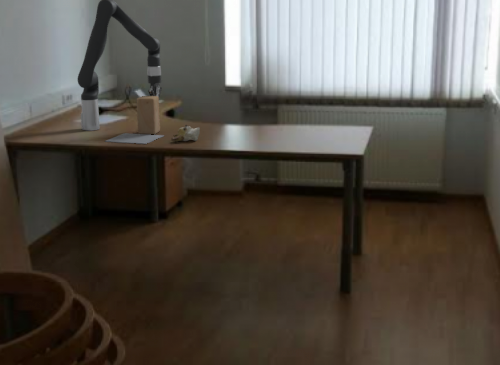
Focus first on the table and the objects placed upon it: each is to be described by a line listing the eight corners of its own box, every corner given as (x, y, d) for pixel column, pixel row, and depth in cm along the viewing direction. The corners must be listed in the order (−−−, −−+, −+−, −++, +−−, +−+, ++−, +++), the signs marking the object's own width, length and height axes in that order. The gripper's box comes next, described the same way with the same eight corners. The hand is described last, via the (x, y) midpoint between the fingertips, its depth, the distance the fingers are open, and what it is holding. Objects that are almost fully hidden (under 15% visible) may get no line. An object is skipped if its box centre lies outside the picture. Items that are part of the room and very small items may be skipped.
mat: (104, 141, 412) (104, 140, 412) (124, 133, 432) (124, 133, 432) (146, 144, 405) (145, 143, 405) (164, 136, 425) (164, 135, 425)
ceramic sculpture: (198, 125, 405) (169, 127, 405) (200, 142, 407) (171, 144, 407) (200, 122, 415) (172, 124, 416) (201, 138, 417) (173, 140, 418)
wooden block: (155, 134, 428) (153, 98, 423) (137, 134, 430) (135, 98, 425) (160, 131, 438) (159, 95, 433) (143, 131, 440) (141, 95, 435)
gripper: (153, 72, 442) (154, 103, 447) (142, 75, 430) (144, 106, 435) (165, 73, 440) (166, 103, 444) (155, 75, 428) (156, 107, 432)
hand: (155, 105), depth 439 cm, fingers closed
